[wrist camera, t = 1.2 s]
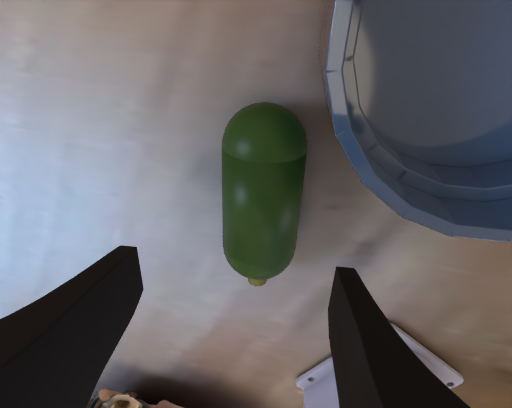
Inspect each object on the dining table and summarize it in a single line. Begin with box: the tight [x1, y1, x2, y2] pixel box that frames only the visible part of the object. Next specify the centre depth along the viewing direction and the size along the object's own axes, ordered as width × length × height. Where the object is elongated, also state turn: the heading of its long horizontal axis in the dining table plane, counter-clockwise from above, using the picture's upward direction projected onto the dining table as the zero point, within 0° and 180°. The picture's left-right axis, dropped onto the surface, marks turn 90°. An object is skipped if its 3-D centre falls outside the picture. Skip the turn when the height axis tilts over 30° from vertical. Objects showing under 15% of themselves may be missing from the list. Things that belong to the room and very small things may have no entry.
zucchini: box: [222, 102, 307, 286], centre depth 18 cm, size 10×4×4 cm, turn 178°
